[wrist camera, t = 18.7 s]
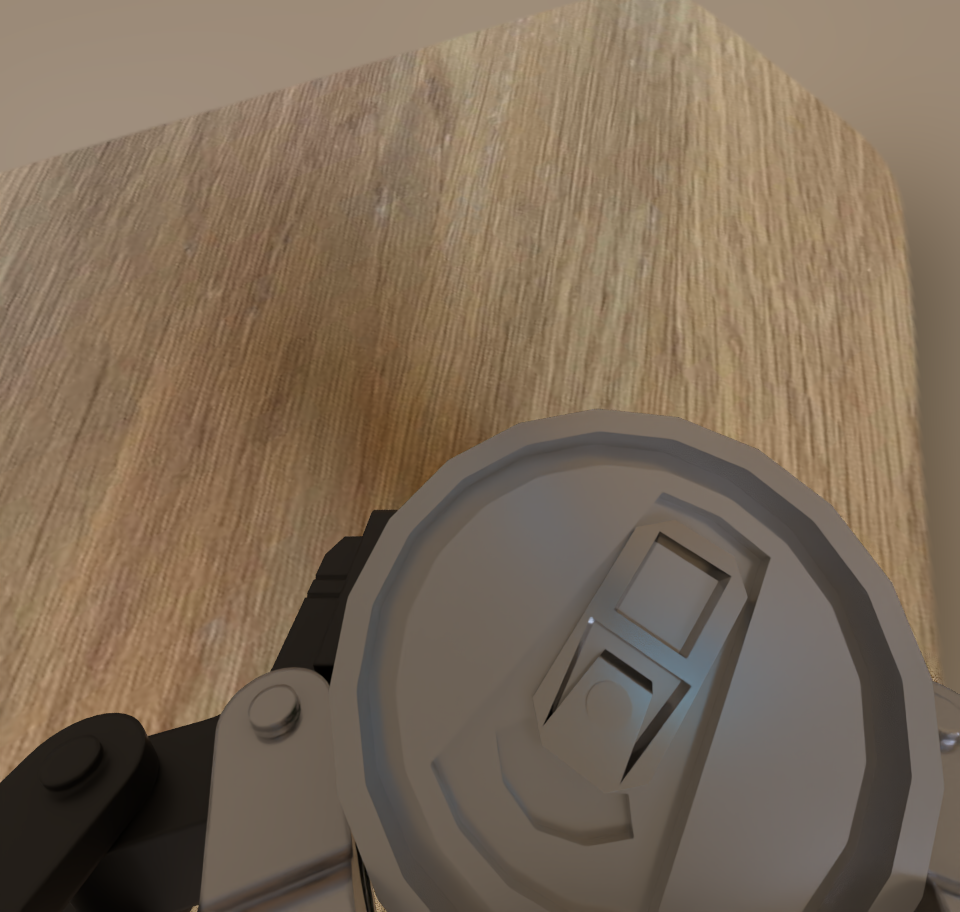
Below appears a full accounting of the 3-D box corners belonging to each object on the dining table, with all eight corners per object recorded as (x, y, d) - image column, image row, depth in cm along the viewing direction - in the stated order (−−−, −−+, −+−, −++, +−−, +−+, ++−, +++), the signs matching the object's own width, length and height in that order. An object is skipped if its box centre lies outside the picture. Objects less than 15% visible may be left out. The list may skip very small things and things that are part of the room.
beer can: (511, 513, 17) (528, 296, 5) (657, 610, 16) (1073, 599, 4) (413, 657, 16) (166, 774, 4) (564, 773, 15) (791, 1365, 3)
